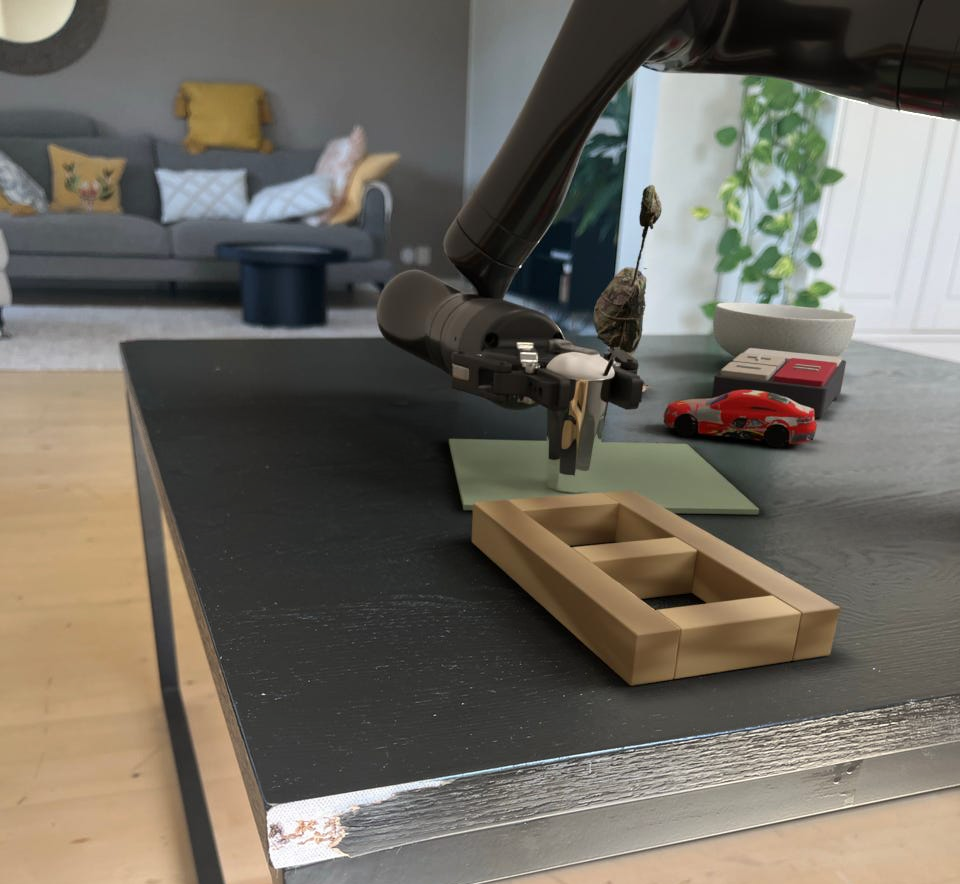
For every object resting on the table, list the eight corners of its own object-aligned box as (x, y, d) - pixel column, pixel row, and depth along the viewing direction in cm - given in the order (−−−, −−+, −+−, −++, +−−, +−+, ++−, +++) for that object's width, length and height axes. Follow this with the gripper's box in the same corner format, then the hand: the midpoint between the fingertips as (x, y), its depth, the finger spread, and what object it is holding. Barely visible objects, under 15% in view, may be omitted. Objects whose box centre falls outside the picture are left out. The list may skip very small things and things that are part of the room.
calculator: (714, 368, 98) (746, 342, 110) (709, 411, 100) (740, 381, 112) (828, 380, 94) (848, 353, 106) (820, 425, 96) (840, 393, 108)
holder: (629, 527, 63) (633, 489, 62) (830, 655, 47) (840, 607, 46) (471, 542, 59) (472, 502, 58) (630, 686, 43) (636, 634, 42)
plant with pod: (654, 382, 110) (676, 186, 102) (644, 401, 100) (669, 185, 92) (582, 376, 112) (598, 182, 104) (566, 394, 102) (582, 181, 94)
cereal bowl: (857, 385, 114) (869, 321, 111) (711, 375, 116) (719, 312, 113) (832, 362, 129) (843, 305, 126) (704, 353, 131) (711, 298, 128)
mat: (686, 448, 83) (687, 443, 83) (758, 514, 67) (759, 509, 66) (448, 443, 81) (448, 438, 81) (463, 510, 65) (463, 504, 65)
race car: (655, 434, 87) (661, 388, 86) (668, 422, 92) (673, 379, 90) (810, 452, 83) (818, 405, 81) (815, 439, 88) (823, 394, 86)
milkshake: (576, 503, 66) (592, 349, 62) (523, 482, 69) (534, 336, 65) (623, 493, 69) (641, 345, 64) (569, 474, 72) (583, 333, 68)
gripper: (415, 301, 74) (502, 336, 60) (585, 301, 79) (703, 334, 65) (413, 402, 77) (495, 458, 63) (577, 396, 82) (688, 447, 68)
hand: (600, 395), depth 64 cm, fingers closed on milkshake, 4 cm apart
